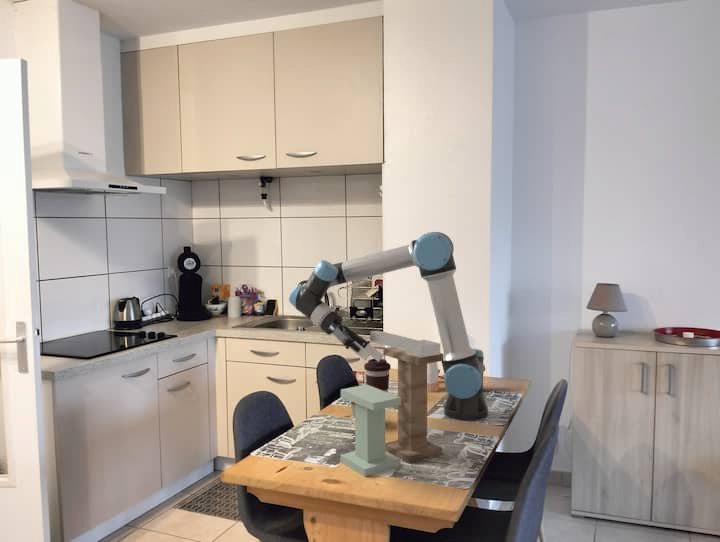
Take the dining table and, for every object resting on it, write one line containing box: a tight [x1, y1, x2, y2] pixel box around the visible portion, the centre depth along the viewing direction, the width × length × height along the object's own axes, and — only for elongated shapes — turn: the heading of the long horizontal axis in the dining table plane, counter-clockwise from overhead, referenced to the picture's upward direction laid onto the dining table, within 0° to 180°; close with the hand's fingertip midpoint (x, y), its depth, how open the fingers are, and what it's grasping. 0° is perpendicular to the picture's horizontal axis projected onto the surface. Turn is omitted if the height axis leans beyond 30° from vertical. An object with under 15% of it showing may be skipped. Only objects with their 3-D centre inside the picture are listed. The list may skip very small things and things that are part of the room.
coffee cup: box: [363, 358, 391, 393], centre depth 229 cm, size 10×10×15 cm
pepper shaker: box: [427, 362, 440, 393], centre depth 242 cm, size 7×7×19 cm
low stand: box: [340, 384, 402, 477], centre depth 168 cm, size 16×12×20 cm
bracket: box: [369, 330, 441, 357], centre depth 179 cm, size 27×7×3 cm, turn 34°
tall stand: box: [382, 346, 444, 465], centre depth 176 cm, size 16×12×30 cm
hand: (374, 357), depth 197 cm, fingers open, 13 cm apart
